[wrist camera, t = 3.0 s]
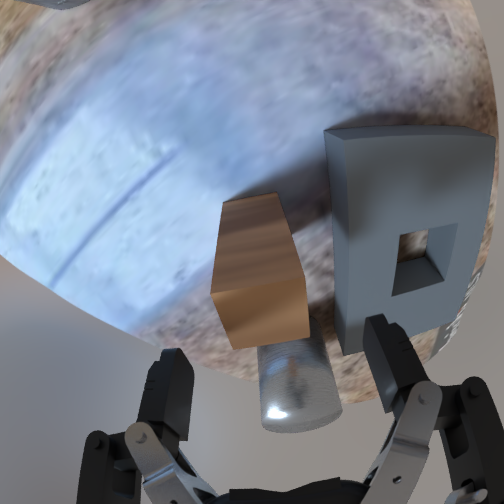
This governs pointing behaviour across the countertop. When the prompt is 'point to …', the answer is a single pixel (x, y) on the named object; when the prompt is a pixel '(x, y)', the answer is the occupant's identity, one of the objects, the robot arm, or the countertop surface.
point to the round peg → (297, 384)
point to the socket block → (405, 222)
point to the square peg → (258, 275)
